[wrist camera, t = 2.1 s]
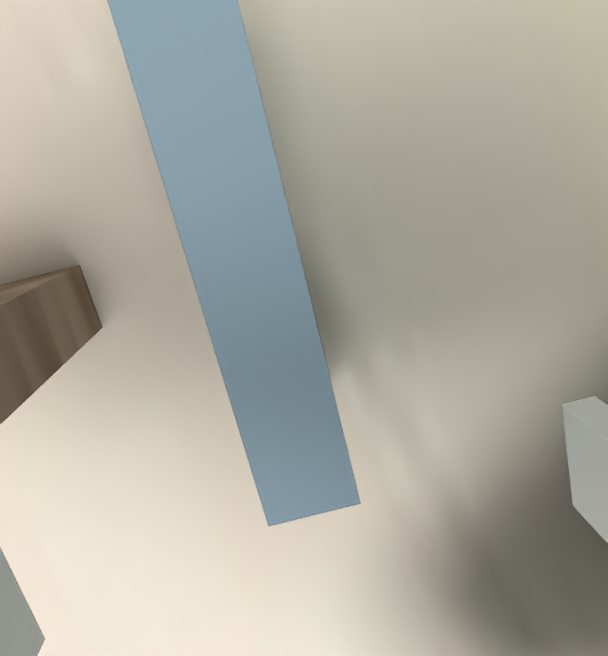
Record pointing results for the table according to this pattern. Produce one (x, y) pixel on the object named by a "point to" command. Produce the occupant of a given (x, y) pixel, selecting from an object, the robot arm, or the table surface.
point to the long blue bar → (239, 245)
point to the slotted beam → (41, 331)
